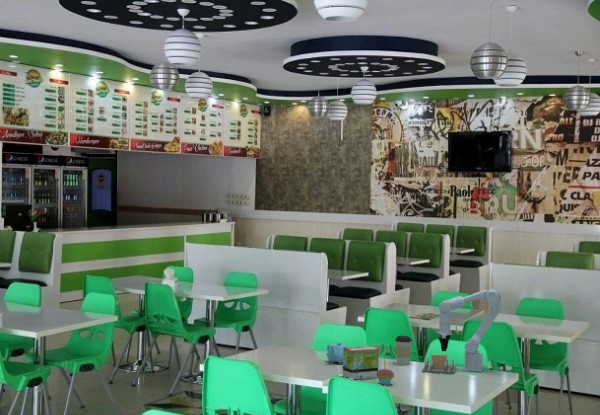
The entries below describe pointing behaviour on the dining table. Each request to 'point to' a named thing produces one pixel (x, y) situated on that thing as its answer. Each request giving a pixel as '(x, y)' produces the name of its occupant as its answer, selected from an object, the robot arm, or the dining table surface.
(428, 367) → the dish rack
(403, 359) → the coffee cup
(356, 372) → the tea box
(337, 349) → the teapot
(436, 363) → the tall tan block
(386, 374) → the cupcake
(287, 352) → the dining table surface
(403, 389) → the dining table surface
